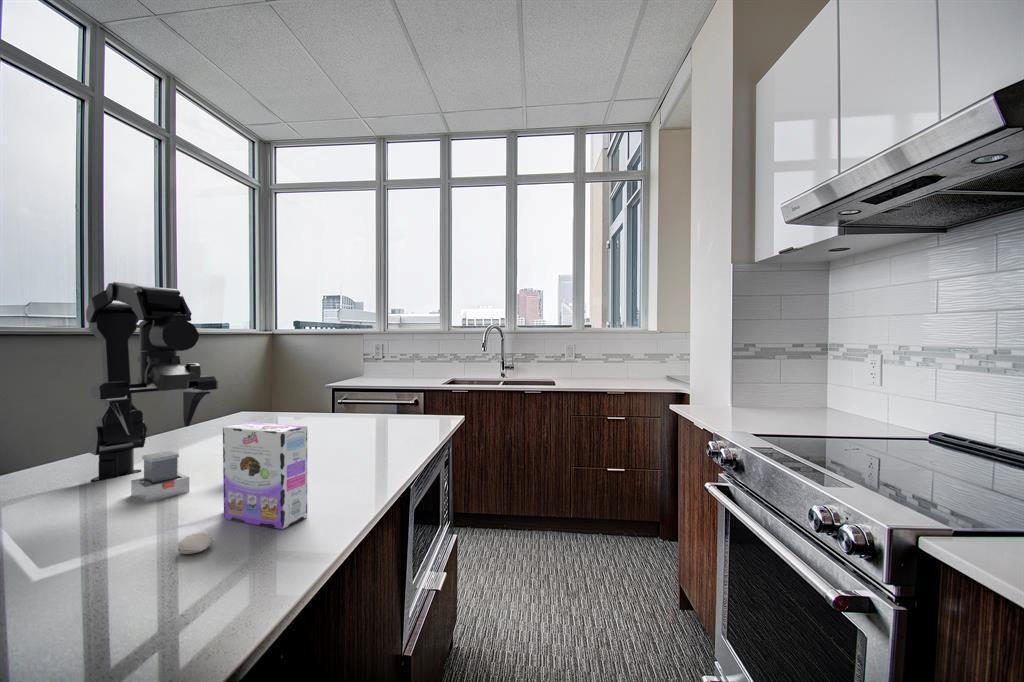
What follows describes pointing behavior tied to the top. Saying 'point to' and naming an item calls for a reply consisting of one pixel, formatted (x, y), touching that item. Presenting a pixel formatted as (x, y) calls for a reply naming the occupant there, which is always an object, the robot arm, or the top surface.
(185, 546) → the white rounded lump
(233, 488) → the candy box
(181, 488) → the stand base
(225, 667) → the top surface
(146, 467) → the column
